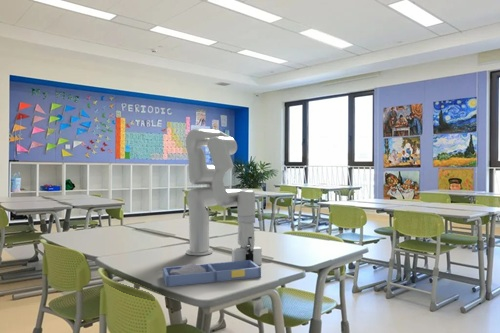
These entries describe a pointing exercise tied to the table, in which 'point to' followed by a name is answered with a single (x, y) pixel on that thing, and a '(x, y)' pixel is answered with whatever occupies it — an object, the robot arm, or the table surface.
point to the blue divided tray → (214, 273)
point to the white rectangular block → (240, 253)
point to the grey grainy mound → (188, 270)
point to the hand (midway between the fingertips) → (246, 260)
